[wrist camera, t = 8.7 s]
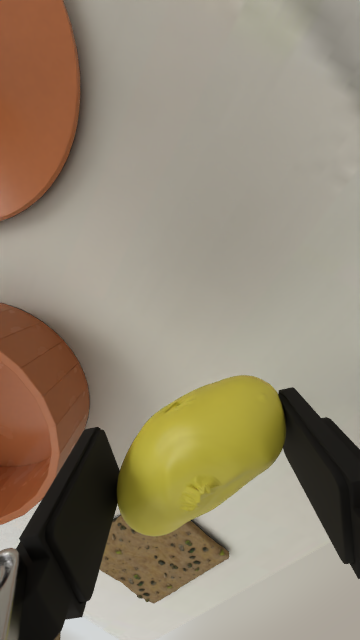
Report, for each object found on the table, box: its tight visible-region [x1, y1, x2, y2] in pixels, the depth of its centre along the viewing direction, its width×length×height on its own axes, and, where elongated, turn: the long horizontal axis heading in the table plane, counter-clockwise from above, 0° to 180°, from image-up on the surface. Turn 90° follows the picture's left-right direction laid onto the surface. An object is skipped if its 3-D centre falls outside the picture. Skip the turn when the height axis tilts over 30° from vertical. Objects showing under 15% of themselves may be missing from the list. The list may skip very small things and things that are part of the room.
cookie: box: [100, 515, 229, 603], centre depth 24 cm, size 12×12×1 cm
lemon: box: [117, 375, 286, 536], centre depth 9 cm, size 4×8×4 cm, turn 129°
